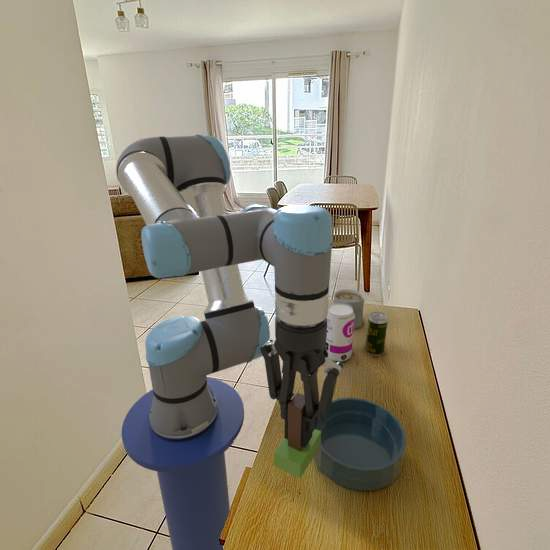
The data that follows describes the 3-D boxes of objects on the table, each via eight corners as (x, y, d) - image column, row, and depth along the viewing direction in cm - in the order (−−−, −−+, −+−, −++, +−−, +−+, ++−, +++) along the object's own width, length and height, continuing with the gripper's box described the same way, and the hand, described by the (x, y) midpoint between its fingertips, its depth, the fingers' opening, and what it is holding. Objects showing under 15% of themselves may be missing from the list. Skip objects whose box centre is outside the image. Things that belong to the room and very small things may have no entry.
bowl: (295, 465, 70) (296, 443, 68) (331, 407, 85) (332, 387, 82) (388, 511, 62) (392, 487, 59) (410, 438, 76) (414, 417, 74)
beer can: (372, 344, 109) (376, 309, 105) (387, 351, 105) (392, 316, 101) (361, 350, 106) (364, 315, 102) (376, 358, 102) (380, 322, 98)
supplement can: (356, 354, 104) (361, 309, 99) (339, 366, 99) (343, 319, 93) (334, 343, 110) (337, 300, 104) (317, 354, 105) (319, 309, 99)
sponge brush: (300, 479, 57) (301, 423, 53) (273, 465, 60) (273, 410, 55) (320, 444, 64) (323, 391, 59) (296, 432, 66) (297, 380, 61)
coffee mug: (336, 312, 128) (337, 287, 124) (364, 317, 125) (366, 291, 121) (326, 330, 117) (327, 303, 113) (357, 336, 113) (359, 309, 109)
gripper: (242, 313, 52) (248, 434, 61) (342, 344, 44) (332, 476, 53) (269, 294, 58) (271, 406, 67) (362, 318, 50) (349, 440, 59)
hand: (298, 437), depth 60 cm, fingers closed on sponge brush, 2 cm apart
